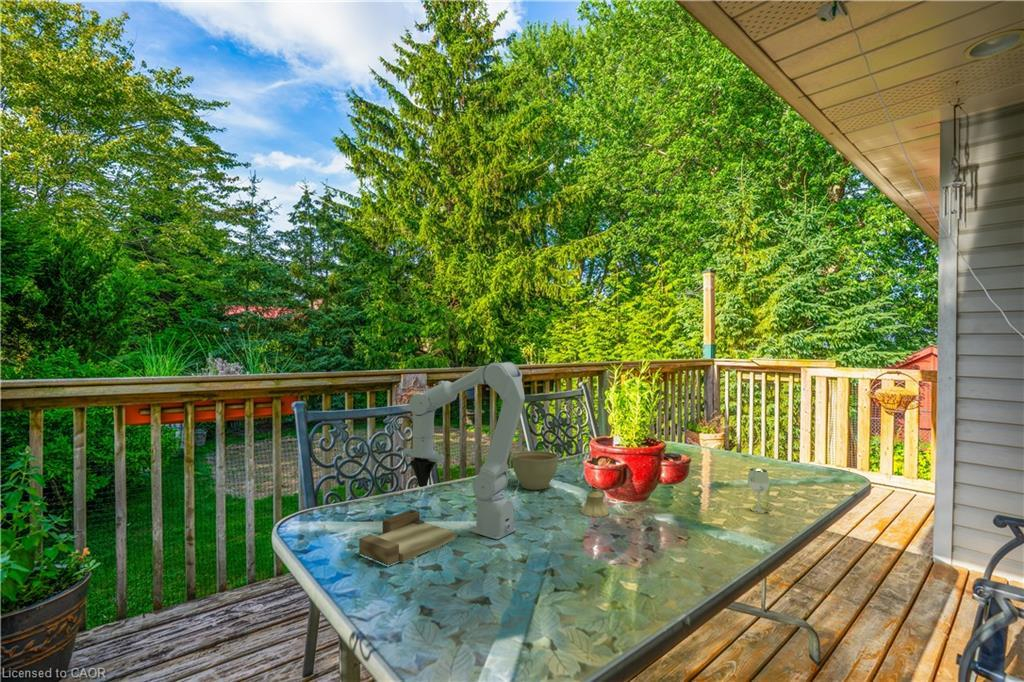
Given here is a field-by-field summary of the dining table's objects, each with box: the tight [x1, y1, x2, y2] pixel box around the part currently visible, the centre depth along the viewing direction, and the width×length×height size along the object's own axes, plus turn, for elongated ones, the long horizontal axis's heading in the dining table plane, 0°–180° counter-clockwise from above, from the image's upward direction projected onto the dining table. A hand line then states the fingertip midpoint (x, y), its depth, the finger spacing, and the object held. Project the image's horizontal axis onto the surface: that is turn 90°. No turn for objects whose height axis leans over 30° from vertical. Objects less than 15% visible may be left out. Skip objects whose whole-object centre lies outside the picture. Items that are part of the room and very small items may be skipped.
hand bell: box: [580, 457, 610, 518], centre depth 144 cm, size 8×8×16 cm
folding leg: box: [381, 509, 421, 535], centre depth 128 cm, size 3×10×4 cm, turn 146°
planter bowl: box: [511, 450, 559, 490], centre depth 171 cm, size 16×16×11 cm
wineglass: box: [747, 467, 770, 512], centre depth 147 cm, size 6×6×12 cm
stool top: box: [358, 519, 457, 565], centre depth 118 cm, size 13×20×4 cm, turn 144°
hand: (422, 485), depth 137 cm, fingers closed
